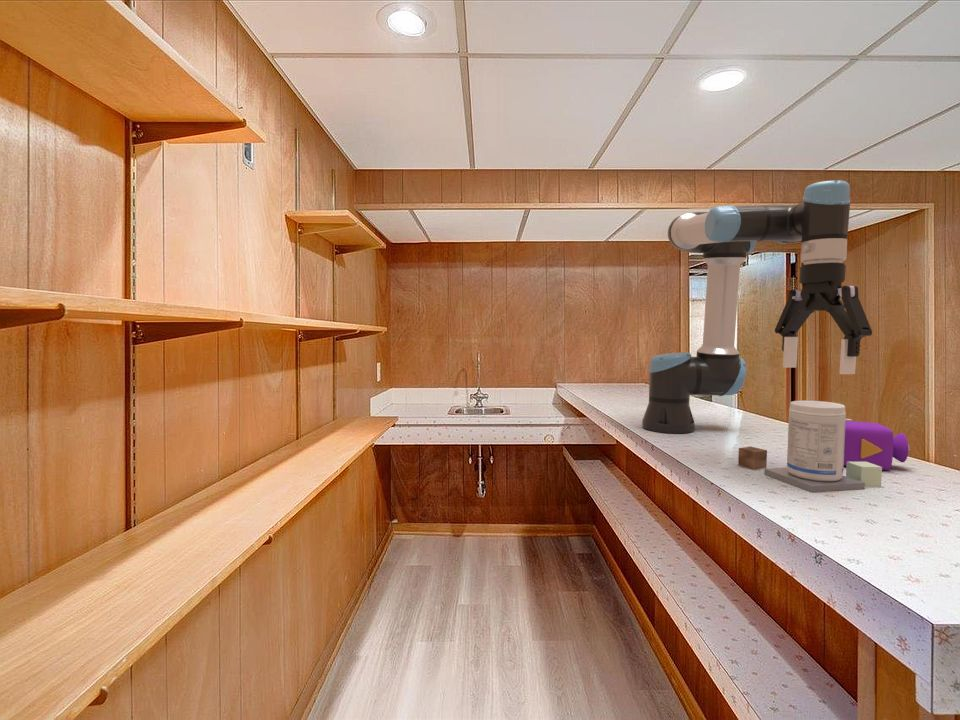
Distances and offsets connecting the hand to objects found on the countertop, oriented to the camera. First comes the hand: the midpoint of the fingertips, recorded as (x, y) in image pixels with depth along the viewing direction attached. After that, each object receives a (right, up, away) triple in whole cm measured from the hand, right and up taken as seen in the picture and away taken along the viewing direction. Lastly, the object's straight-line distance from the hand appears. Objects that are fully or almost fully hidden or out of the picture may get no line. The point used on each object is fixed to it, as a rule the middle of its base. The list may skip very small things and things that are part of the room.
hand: (816, 370), depth 101 cm
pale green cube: (+9, -23, 0) cm, 24 cm away
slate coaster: (0, -22, +1) cm, 22 cm away
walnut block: (-6, -22, +12) cm, 26 cm away
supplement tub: (0, -21, +1) cm, 21 cm away
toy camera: (+21, -22, +13) cm, 33 cm away
